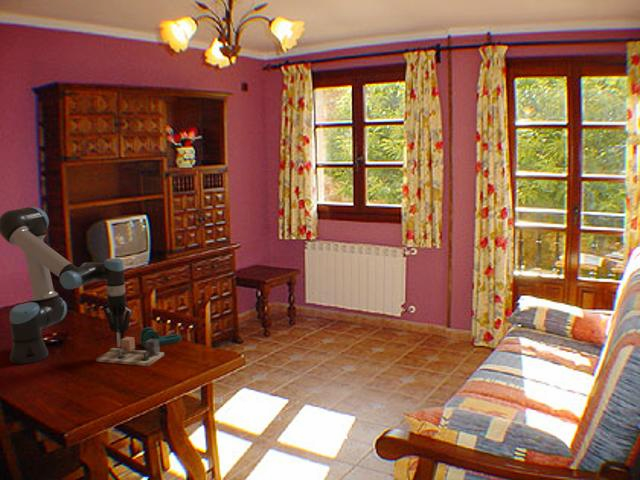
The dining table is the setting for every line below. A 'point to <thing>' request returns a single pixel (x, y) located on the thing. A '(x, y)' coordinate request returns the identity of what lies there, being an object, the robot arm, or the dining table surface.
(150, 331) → the teal curved handle
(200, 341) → the dining table surface
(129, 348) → the block
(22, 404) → the dining table surface
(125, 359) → the gauge board
